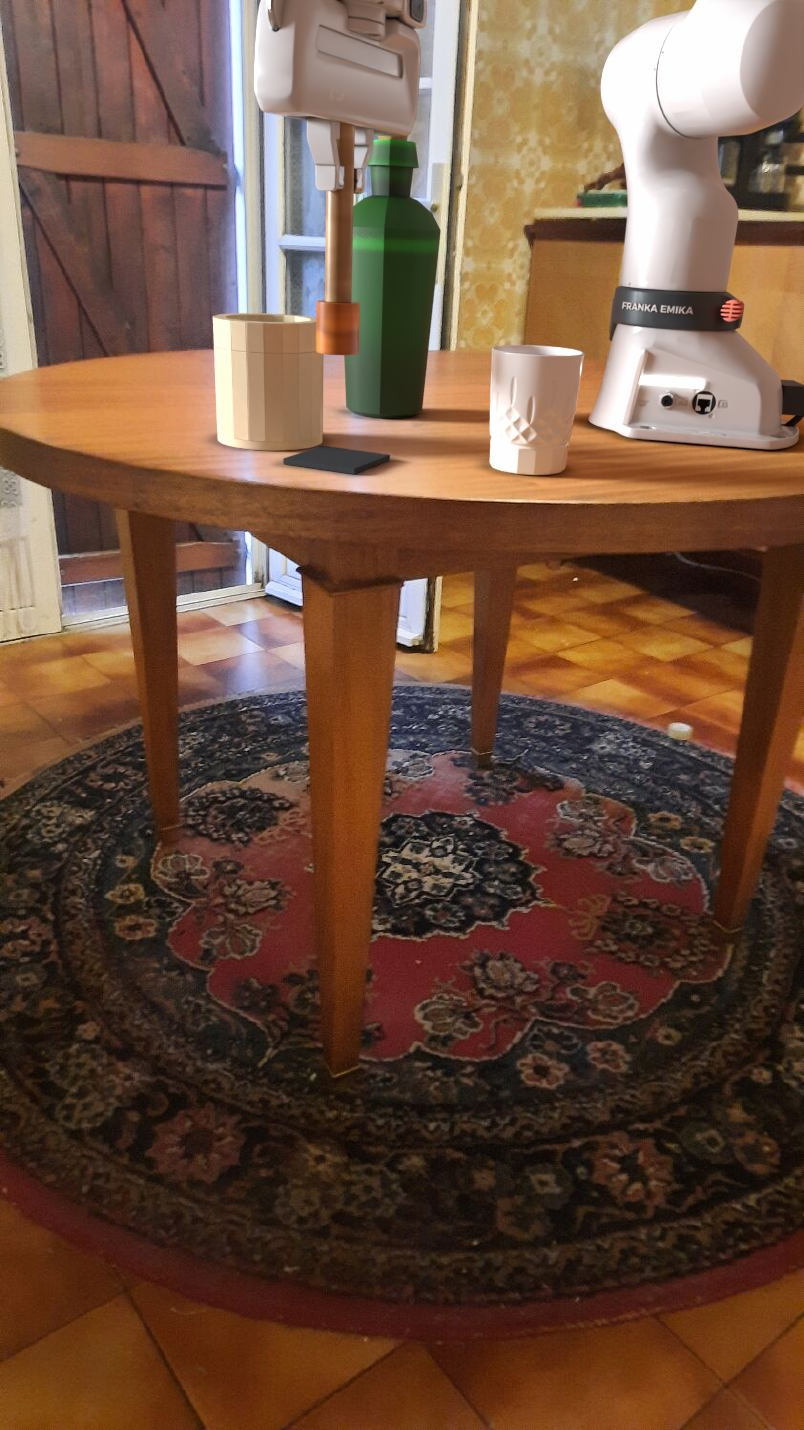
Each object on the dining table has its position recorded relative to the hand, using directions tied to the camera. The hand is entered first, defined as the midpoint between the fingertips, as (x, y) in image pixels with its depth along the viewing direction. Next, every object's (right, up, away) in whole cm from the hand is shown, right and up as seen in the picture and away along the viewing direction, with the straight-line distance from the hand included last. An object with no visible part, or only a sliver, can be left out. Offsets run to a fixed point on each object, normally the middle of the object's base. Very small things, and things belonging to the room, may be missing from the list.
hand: (340, 192), depth 81 cm
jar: (-8, -15, +17) cm, 24 cm away
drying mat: (-1, -19, +9) cm, 21 cm away
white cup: (+16, -19, +11) cm, 27 cm away
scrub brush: (-1, -11, +5) cm, 12 cm away
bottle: (+3, -8, +34) cm, 35 cm away
